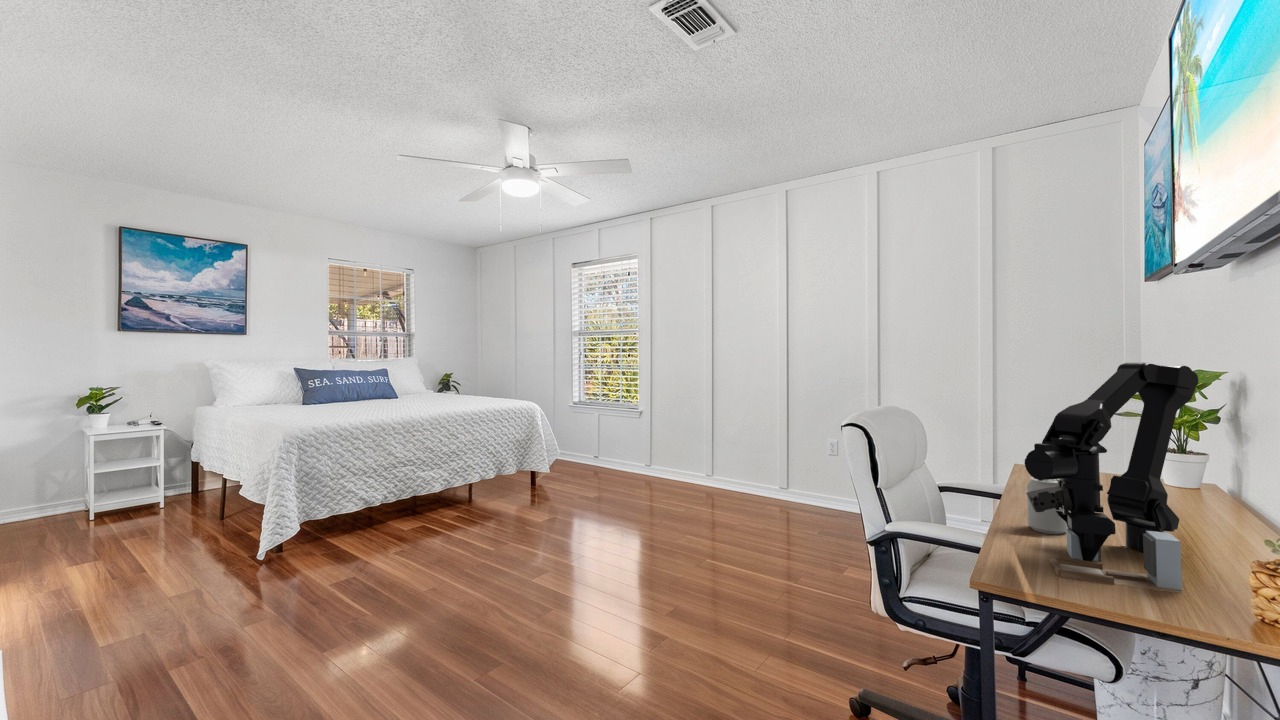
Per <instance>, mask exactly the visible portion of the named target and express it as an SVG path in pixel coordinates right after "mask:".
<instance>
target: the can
mask: <svg viewBox="0 0 1280 720" xmlns="http://www.w3.org/2000/svg"><path fill="white" fill-rule="evenodd" d="M1029 479H1030V481H1028V482H1027V484H1026V493H1028V492H1031V491H1035V490H1040V489H1044V488H1049V487H1055V486H1058V480H1060V479H1050V480H1037V479H1035V478H1033V477H1032V476H1031V477H1030V478H1029ZM1026 496H1027V495H1026ZM1026 498H1027V499H1026V500H1027V502H1026V503H1027V524H1028V526H1029V527H1030V528H1031V529H1032V530H1034V531H1036V532H1039V533H1043V534H1049V535H1063V534H1064V533H1065V532H1067V529H1068V527H1067V523H1066V522H1065V521H1064V520H1063V519H1062V518H1061V517H1060V516H1059V515H1058V514H1057V513H1056V511H1061V507H1059V510H1055V509H1054V508H1053V509H1048V510H1045V511H1044V512H1035V510H1034V509H1033V507H1032V505H1031V503H1030V501H1029V499H1028V496H1027V497H1026Z"/></svg>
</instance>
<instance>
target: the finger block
mask: <svg viewBox="0 0 1280 720" xmlns="http://www.w3.org/2000/svg"><path fill="white" fill-rule="evenodd" d="M1066 550H1067V551H1066V552H1067V554H1068V555H1069V556H1070V559H1076V560H1083V559H1082V555H1081V551H1080V546H1079V542H1078V538H1077V535H1076V534H1075V533H1074V532H1072V531H1071V530H1069V529H1067V531H1066ZM1092 562H1102V547H1101V548H1100V550H1099V551H1098V553H1097V555H1096V556H1095V558H1094V560H1093V561H1092Z"/></svg>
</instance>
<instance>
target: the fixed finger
mask: <svg viewBox="0 0 1280 720" xmlns="http://www.w3.org/2000/svg"><path fill="white" fill-rule="evenodd" d="M1142 555H1143V569H1144V571H1146V574H1147V577H1148V578H1149V579H1150V580H1151V581H1152V582H1153V583H1154V584H1155V585H1156V586H1157V587H1161V588H1169V589H1176V590H1179V591H1183V585H1182V583H1183V582H1182V580H1183V579H1182V578H1183V577H1182V576H1183V575H1182V545H1181V540H1179V539H1178V538H1177V537H1175V536H1174V535H1172V534H1171V533H1170V532H1166V531H1164V532H1155V531H1146V534H1143V553H1142Z"/></svg>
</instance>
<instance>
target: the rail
mask: <svg viewBox="0 0 1280 720" xmlns="http://www.w3.org/2000/svg"><path fill="white" fill-rule="evenodd" d="M1049 563H1050V565H1051V566H1052V568H1053V570H1054V571H1055V573H1056V575H1057V576H1058V577H1059V578H1065V579H1066V578H1067V579H1073V580H1081V581H1087V582H1094V583H1095V582H1096V583H1103V584H1110V585H1118V586H1123V587H1131V588H1132V587H1133V588H1139V589H1147V590H1154V591H1161V592H1169V593H1175V594H1182V592H1181V590H1176V589H1169V588H1161V587H1157V586H1156V585H1155V584H1154V583H1153V582H1152V581H1151V580H1150V579H1149V578H1148V577H1147V573H1142V572H1136V571H1128V570H1127V571H1126V570H1119V569H1112V568H1103V565H1104V564H1103V563H1102V562H1101V561H1084V560H1081V559H1073V558H1068V557H1057V556H1052V557H1050V561H1049Z"/></svg>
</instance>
